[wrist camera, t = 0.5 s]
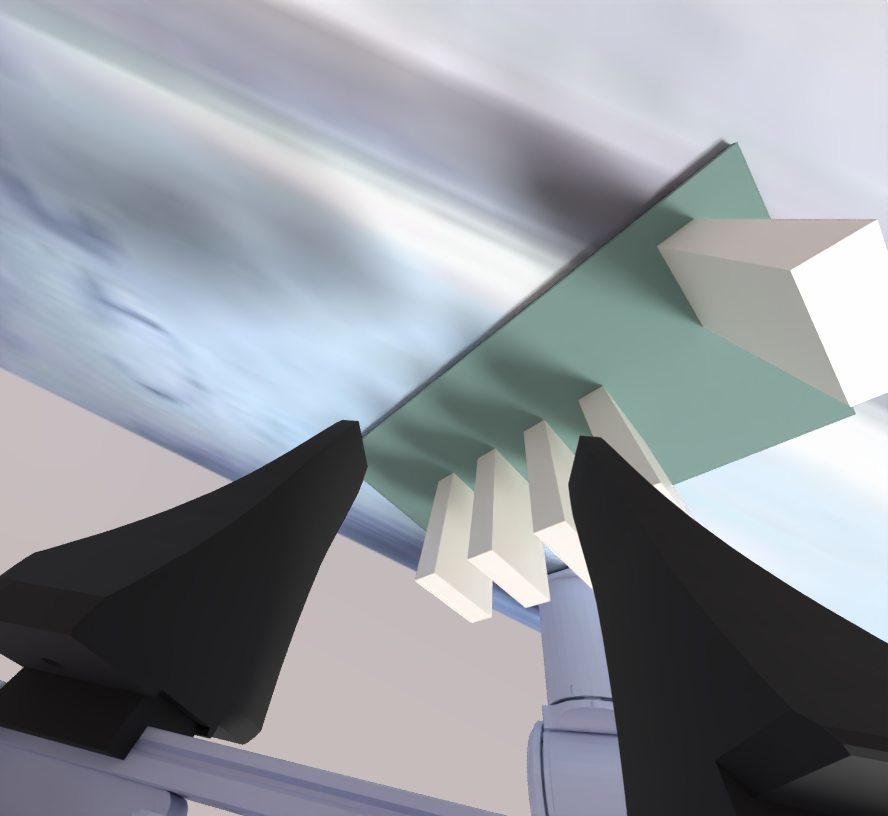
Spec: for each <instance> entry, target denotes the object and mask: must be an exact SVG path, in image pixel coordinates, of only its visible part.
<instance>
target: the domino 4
mask: <svg viewBox="0 0 888 816" xmlns="http://www.w3.org/2000/svg"><path fill="white" fill-rule="evenodd" d="M657 248H658V249H659V251H660V253H661V254H662V256H663V258H664V260H665V261H666V263H667V265H668V267H669V268H670V270H671V272H672V274H673V275H674V277H675V279H676V281H677V282H678V284H679V286H680V287H681V289H682V291H683V293H684V294H685V296H686V298H687V300H688V301H689V303H690V305H691V307H692V308H693V310H694V312H695V314H696V315H697V317H698V319H699V321H700V322H701V324H702V326H703V327H704V328H706V329H708V330H710V331H711V332H713V333H715V334H717V335H719V336H721V337H722V338H724V339H726V340H728V341H730V342H732V343H733V344H735V345H737V346H739V347H741V348H743V349H745V350H746V351H748V352H750V353H752V354H754V355H756V356H757V357H759V358H761V359H763V360H765V361H767V362H769V363H770V364H772V365H774V366H776V367H778V368H780V369H781V370H783V371H785V372H787V373H789V374H791V375H792V376H794V377H796V378H798V379H800V380H802V381H804V382H805V383H807V384H809V385H811V386H813V387H815V388H816V389H818V390H820V391H822V392H824V393H826V394H828V395H829V396H831V397H833V398H835V399H837V400H839V401H840V402H842V403H844V404H846V405H848V406H850V407H851V406H854V405H856V404H859V403H861V402H864V401H866V400H869V399H871V398H874V397H876V396H879V395H881V394H884V393H886V392H888V252H887V249H886V245H885V242H884V239H883V236H882V233H881V230H880V227H879V224H878V220H877V219H693V220H692V221H690V222H689V223H688V224H686V225H685V226H683V227H682V228H681V229H679V230H678V231H677V232H675V233H674V234H673V235H671V236H670V237H669V238H667V239H666V240H664V241H663V242H662V243H660V244H659V245H658V246H657Z"/></svg>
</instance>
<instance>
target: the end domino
mask: <svg viewBox="0 0 888 816" xmlns="http://www.w3.org/2000/svg"><path fill="white" fill-rule="evenodd" d="M473 500H474V491H473V490H472V489H471V488H470V487H468V486H467V485H466V484H465V483H464V482H463V481H462V480H461V479H460V478H459V477H458V476H457V475H456V474H455V473H452V474H450V475H449V476H447V477H445V478H444V479H442V480H440V481H439V482H438V486H437V490H436V494H435V499H434V503H433V507H432V511H431V515H430V519H429V523H428V527H427V532H426V536H425V540H424V544H423V548H422V552H421V556H420V560H419V565H418V569H417V573H416V577H415V581H416V582H417V583H418V584H420V585H421V586H422V587H424V588H425V589H426V590H428V591H429V592H430V593H432V594H433V595H435V596H436V597H437V598H438V599H440V600H441V601H442V602H444V603H445V604H447V605H448V606H449V607H451V608H452V609H453V610H455V611H456V612H457V613H459V614H460V615H461V616H463V617H464V618H465V619H467V620H468V621H470V622H471V623H472V622H476V621H480V620H483V619H487V618H491V617H492V586H493V581H492V580H491V579H490V578H489V577H488V576H486V575H485V574H484V573H483V572H482V571H480V570H479V569H478V568H477V567H476V566H474V565H473V564H472V563H471V562H469V561H468V560H467V558H468V548H469V539H470V529H471V519H472V510H473Z"/></svg>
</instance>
